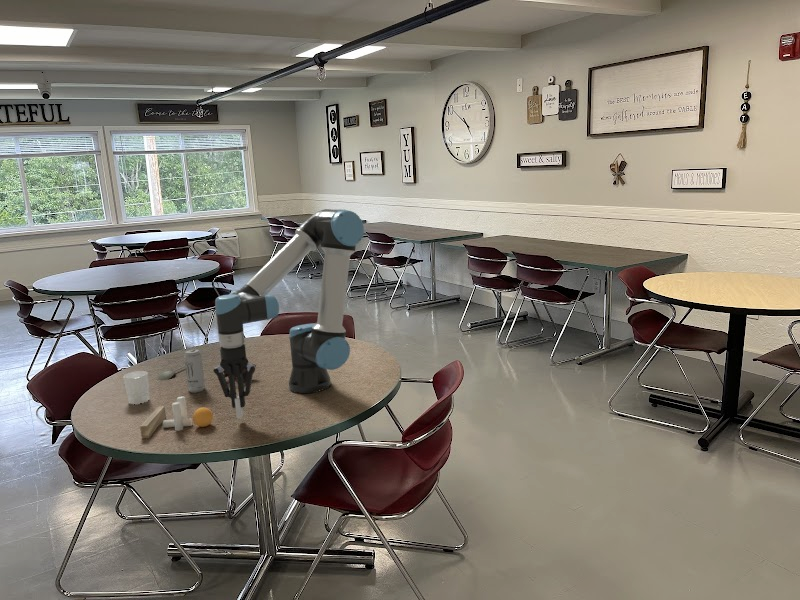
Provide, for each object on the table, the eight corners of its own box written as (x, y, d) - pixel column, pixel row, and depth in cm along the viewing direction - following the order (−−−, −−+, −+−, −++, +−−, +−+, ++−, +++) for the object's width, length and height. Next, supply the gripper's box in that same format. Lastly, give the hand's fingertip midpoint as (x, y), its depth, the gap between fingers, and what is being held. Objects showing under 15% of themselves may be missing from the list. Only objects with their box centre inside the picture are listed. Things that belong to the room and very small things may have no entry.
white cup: (136, 406, 209) (132, 379, 207) (122, 403, 213) (118, 376, 211) (155, 399, 216) (152, 372, 213) (142, 395, 220) (138, 369, 218)
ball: (193, 418, 192) (212, 422, 194) (189, 428, 187) (208, 432, 188) (197, 402, 191) (216, 406, 192) (193, 411, 185) (212, 415, 186)
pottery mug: (231, 389, 224) (221, 369, 224) (229, 393, 232) (219, 374, 233) (261, 374, 229) (251, 355, 230) (257, 378, 238) (247, 360, 238)
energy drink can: (184, 392, 221) (179, 353, 218) (195, 386, 227) (190, 348, 224) (198, 393, 219) (193, 354, 216) (208, 388, 224) (204, 349, 221)
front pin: (191, 416, 191) (164, 418, 191) (189, 420, 189) (162, 422, 189) (192, 423, 192) (165, 425, 192) (190, 427, 190) (163, 429, 189)
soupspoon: (153, 382, 238) (166, 384, 235) (152, 374, 237) (165, 376, 234) (192, 363, 257) (204, 365, 255) (191, 355, 256) (204, 357, 254)
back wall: (166, 417, 198) (164, 405, 197) (148, 438, 183) (146, 425, 182) (159, 417, 198) (158, 406, 197) (141, 438, 183) (140, 426, 182)
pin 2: (184, 427, 189) (181, 401, 188) (181, 430, 187) (178, 404, 185) (176, 427, 189) (173, 402, 188) (174, 431, 187) (170, 405, 185)
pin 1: (189, 421, 194) (185, 396, 193) (186, 424, 192) (183, 398, 190) (181, 421, 194) (178, 396, 193) (179, 424, 192) (175, 399, 190)
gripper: (207, 349, 182) (216, 422, 187) (251, 347, 183) (258, 420, 188) (214, 342, 190) (222, 413, 194) (255, 340, 190) (262, 411, 195)
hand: (240, 416), depth 191 cm, fingers closed
